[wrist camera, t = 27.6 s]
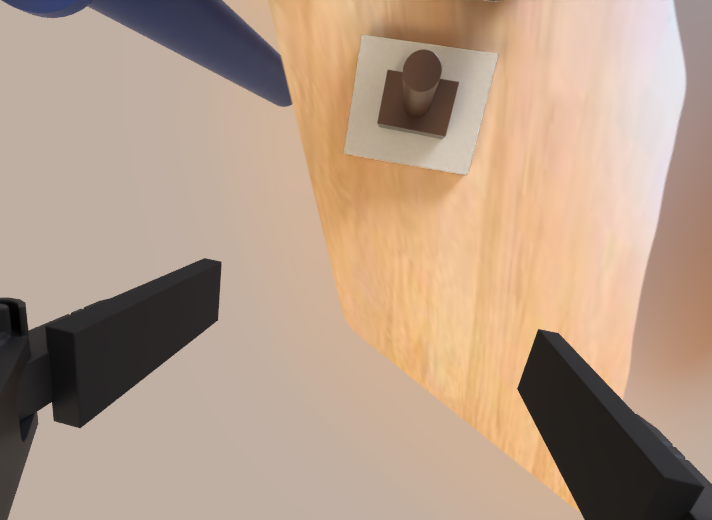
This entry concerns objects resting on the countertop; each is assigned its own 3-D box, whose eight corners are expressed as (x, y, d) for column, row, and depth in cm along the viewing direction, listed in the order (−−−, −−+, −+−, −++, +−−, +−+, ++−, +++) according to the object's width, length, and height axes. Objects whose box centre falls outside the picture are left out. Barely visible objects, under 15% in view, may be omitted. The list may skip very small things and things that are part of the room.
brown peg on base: (379, 127, 37) (364, 101, 24) (389, 77, 36) (378, 19, 22) (442, 139, 36) (464, 119, 23) (455, 89, 35) (485, 37, 22)
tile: (346, 154, 40) (343, 153, 38) (363, 41, 37) (361, 34, 35) (464, 175, 39) (467, 175, 37) (493, 59, 36) (498, 53, 34)
